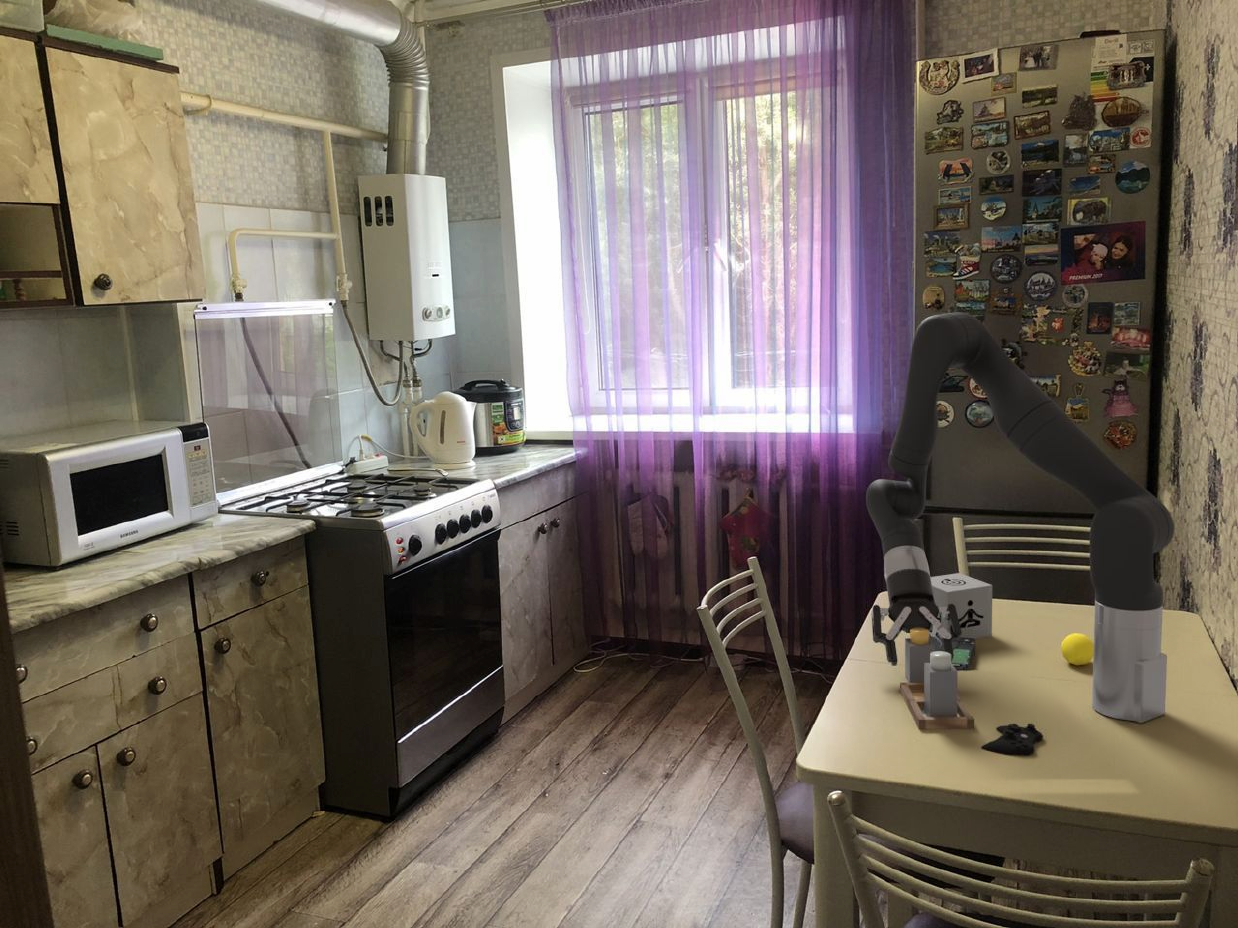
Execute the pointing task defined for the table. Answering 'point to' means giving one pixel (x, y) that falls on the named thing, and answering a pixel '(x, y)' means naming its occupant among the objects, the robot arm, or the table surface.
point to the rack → (915, 703)
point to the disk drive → (959, 652)
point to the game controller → (1014, 740)
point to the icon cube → (965, 603)
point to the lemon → (1077, 649)
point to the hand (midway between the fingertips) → (921, 663)
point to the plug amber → (917, 654)
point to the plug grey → (940, 686)
